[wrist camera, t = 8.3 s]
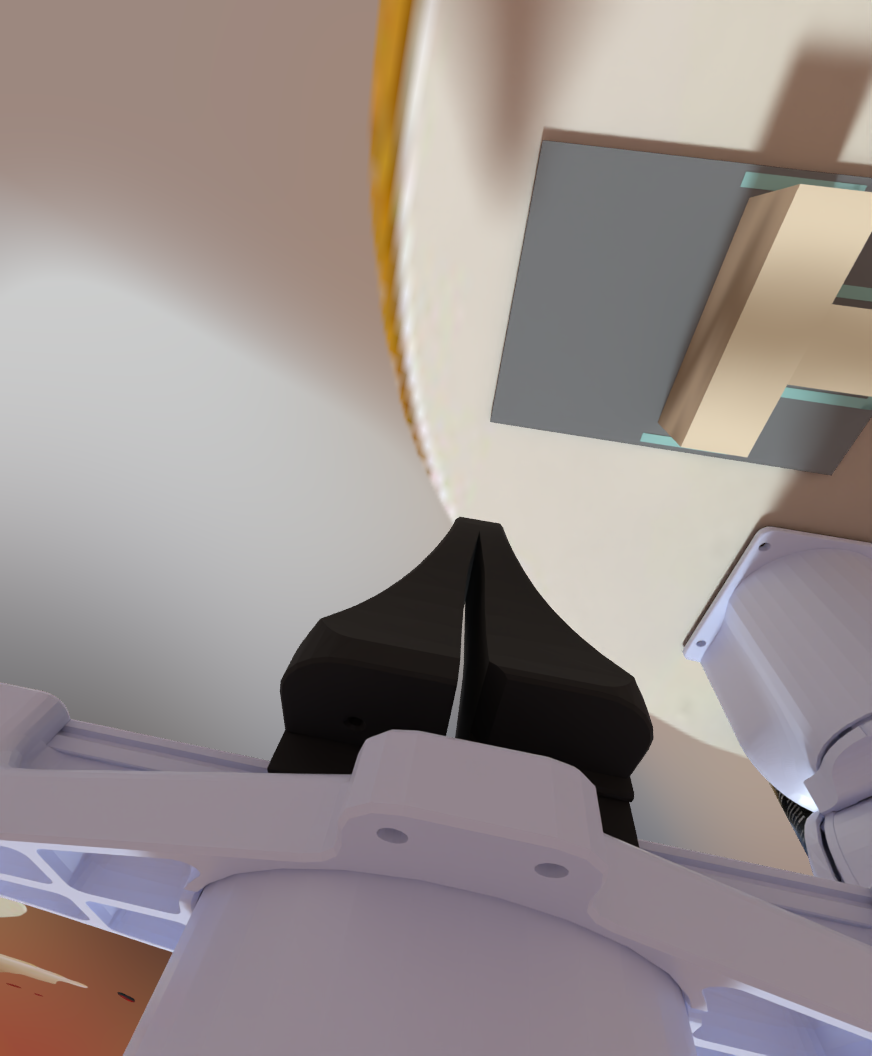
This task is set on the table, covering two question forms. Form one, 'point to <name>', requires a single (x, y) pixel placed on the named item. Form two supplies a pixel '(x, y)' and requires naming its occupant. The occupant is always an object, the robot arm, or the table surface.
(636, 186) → the mat
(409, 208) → the table surface
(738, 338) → the t block
